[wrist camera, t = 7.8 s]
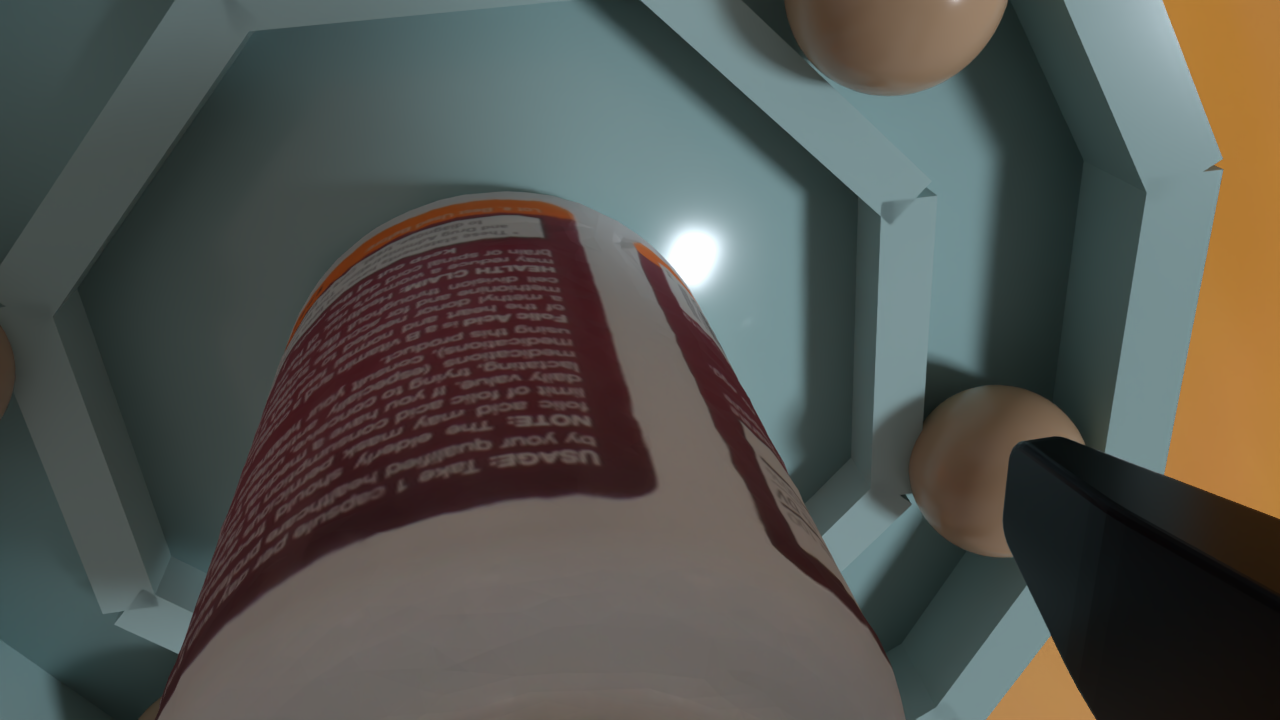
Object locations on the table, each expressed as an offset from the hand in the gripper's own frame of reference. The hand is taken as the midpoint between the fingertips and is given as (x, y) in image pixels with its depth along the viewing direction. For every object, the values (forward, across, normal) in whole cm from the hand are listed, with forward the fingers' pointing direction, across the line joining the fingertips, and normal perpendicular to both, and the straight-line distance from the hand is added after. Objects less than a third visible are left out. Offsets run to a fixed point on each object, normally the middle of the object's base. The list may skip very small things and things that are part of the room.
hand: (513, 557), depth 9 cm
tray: (+4, 0, 0) cm, 4 cm away
